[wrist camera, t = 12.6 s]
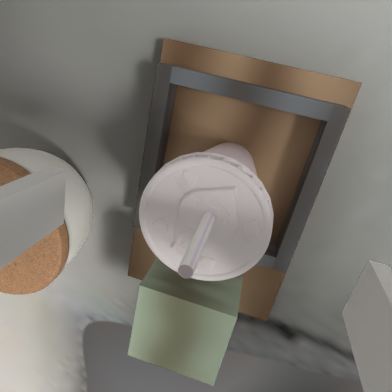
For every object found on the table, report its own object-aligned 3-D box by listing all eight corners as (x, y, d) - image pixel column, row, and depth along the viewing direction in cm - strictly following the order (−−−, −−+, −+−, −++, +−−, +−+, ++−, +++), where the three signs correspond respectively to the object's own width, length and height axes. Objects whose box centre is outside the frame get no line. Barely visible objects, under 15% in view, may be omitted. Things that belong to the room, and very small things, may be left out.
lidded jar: (45, 255, 32) (-36, 321, 24) (-13, 158, 29) (-128, 194, 21) (133, 228, 29) (74, 294, 20) (77, 115, 26) (-19, 137, 17)
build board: (357, 82, 21) (414, 89, 12) (266, 311, 29) (264, 410, 20) (169, 39, 22) (106, 20, 14) (133, 267, 30) (79, 343, 22)
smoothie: (292, 162, 22) (319, 284, 10) (234, 223, 25) (194, 381, 12) (222, 103, 22) (151, 148, 9) (170, 171, 25) (60, 279, 12)
